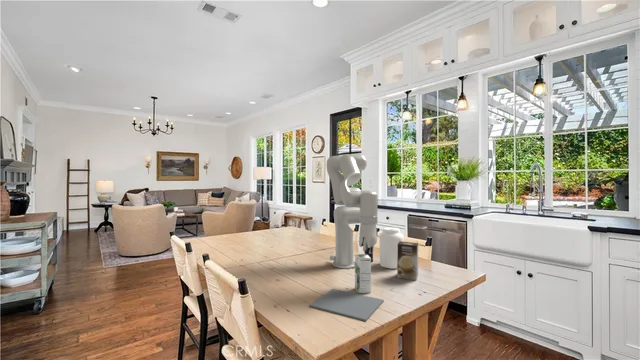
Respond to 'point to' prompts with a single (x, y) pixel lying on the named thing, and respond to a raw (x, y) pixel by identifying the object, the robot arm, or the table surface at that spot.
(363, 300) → the mat
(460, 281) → the table surface
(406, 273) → the coffee box
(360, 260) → the syrup box
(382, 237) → the white bottle
